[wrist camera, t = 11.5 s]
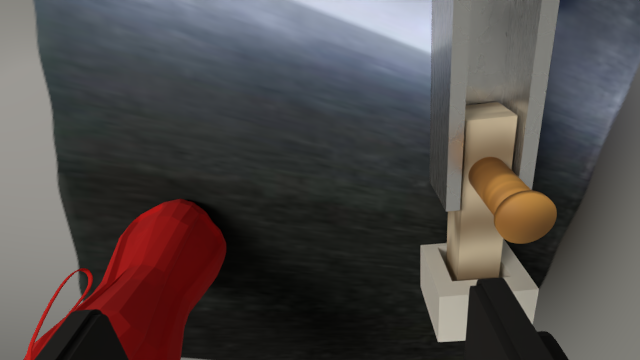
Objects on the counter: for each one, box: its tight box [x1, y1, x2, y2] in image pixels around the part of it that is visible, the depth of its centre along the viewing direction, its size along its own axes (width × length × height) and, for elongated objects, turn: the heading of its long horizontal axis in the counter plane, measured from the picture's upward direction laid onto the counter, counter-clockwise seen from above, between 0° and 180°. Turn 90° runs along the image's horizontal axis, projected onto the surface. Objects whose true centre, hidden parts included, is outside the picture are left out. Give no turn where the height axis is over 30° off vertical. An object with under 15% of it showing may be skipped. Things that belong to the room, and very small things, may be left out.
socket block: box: [421, 239, 539, 342], centre depth 41 cm, size 6×9×8 cm, turn 97°
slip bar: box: [446, 102, 557, 281], centre depth 34 cm, size 20×4×11 cm, turn 7°
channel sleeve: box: [430, 0, 560, 211], centre depth 33 cm, size 18×7×6 cm, turn 7°
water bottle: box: [24, 199, 226, 360], centre depth 31 cm, size 9×11×25 cm
